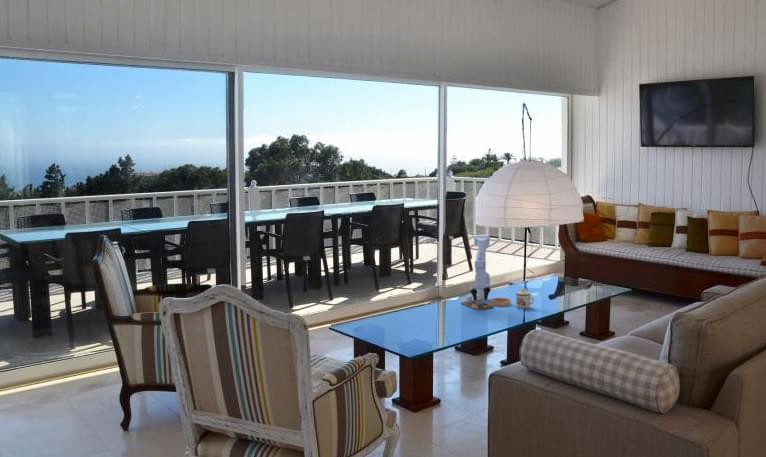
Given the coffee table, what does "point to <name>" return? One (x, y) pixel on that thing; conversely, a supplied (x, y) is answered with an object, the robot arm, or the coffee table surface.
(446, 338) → the coffee table surface
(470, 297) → the light stone
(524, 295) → the teacup with lid
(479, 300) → the grey rounded cylinder
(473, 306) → the tray
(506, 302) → the bowl
